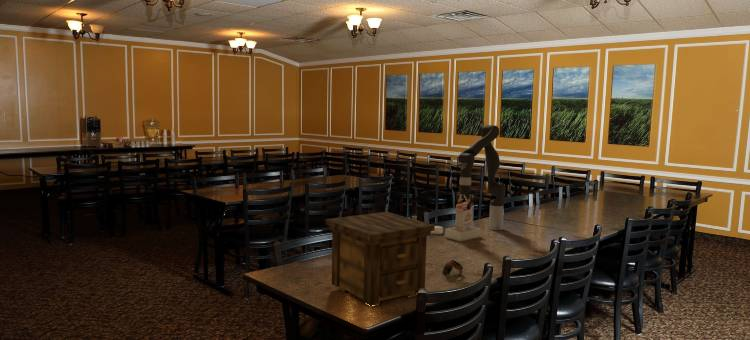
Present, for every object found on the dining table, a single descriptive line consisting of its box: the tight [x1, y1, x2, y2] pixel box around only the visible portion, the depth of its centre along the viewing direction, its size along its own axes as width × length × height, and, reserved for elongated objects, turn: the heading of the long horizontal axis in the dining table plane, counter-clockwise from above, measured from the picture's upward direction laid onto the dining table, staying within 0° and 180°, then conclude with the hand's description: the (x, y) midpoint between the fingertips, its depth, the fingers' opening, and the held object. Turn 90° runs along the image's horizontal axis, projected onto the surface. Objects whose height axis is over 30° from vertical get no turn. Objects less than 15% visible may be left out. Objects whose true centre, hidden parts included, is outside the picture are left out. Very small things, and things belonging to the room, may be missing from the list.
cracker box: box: [454, 201, 474, 232], centre depth 344 cm, size 14×6×21 cm, turn 145°
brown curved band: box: [442, 259, 464, 276], centre depth 266 cm, size 12×10×8 cm
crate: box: [324, 211, 436, 306], centre depth 237 cm, size 35×35×33 cm
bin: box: [444, 225, 482, 242], centre depth 345 cm, size 13×21×6 cm, turn 129°
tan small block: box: [431, 225, 444, 235], centre depth 357 cm, size 8×8×4 cm
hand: (464, 208), depth 343 cm, fingers closed on cracker box, 6 cm apart
